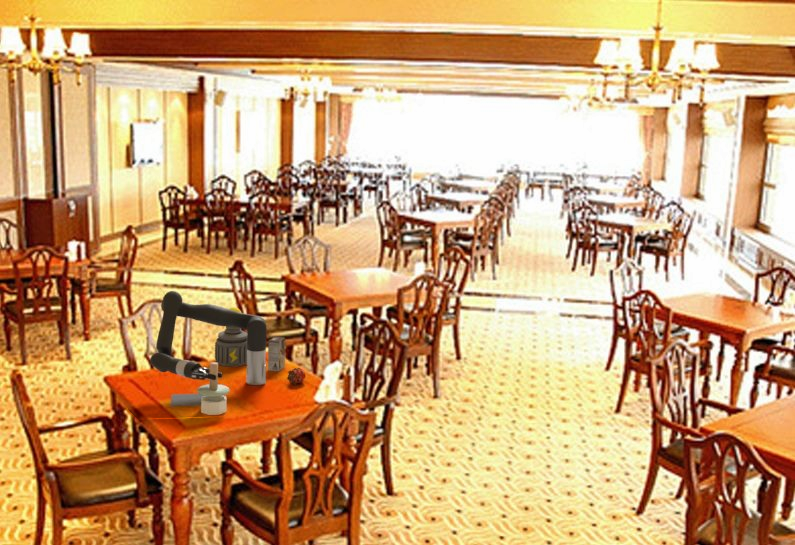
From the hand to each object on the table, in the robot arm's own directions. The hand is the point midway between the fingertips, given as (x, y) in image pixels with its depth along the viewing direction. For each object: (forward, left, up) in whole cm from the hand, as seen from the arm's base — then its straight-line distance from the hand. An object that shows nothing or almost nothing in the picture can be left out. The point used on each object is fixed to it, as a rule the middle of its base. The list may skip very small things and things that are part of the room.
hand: (218, 376), depth 381 cm
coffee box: (-31, -63, -17) cm, 72 cm away
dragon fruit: (-39, -39, -17) cm, 58 cm away
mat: (+13, -17, -17) cm, 27 cm away
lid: (+2, -2, -7) cm, 8 cm away
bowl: (+2, -2, -17) cm, 17 cm away
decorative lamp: (-9, -76, -17) cm, 78 cm away
